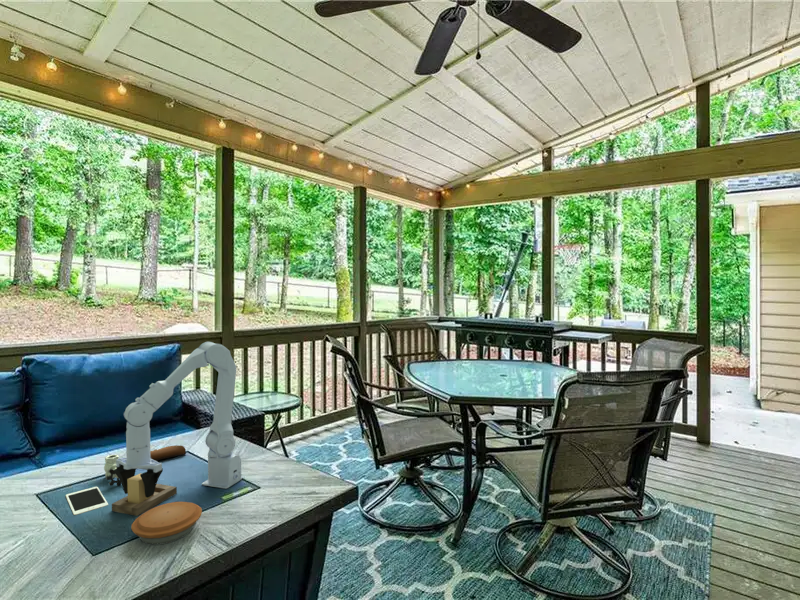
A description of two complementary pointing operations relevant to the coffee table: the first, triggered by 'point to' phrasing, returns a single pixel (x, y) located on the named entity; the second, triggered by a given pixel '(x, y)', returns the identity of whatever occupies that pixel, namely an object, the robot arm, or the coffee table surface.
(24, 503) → the coffee table surface
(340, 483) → the coffee table surface
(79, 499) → the cell phone
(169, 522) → the pie
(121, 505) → the socket block
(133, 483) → the square peg
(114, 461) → the valve
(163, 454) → the sunglasses case
